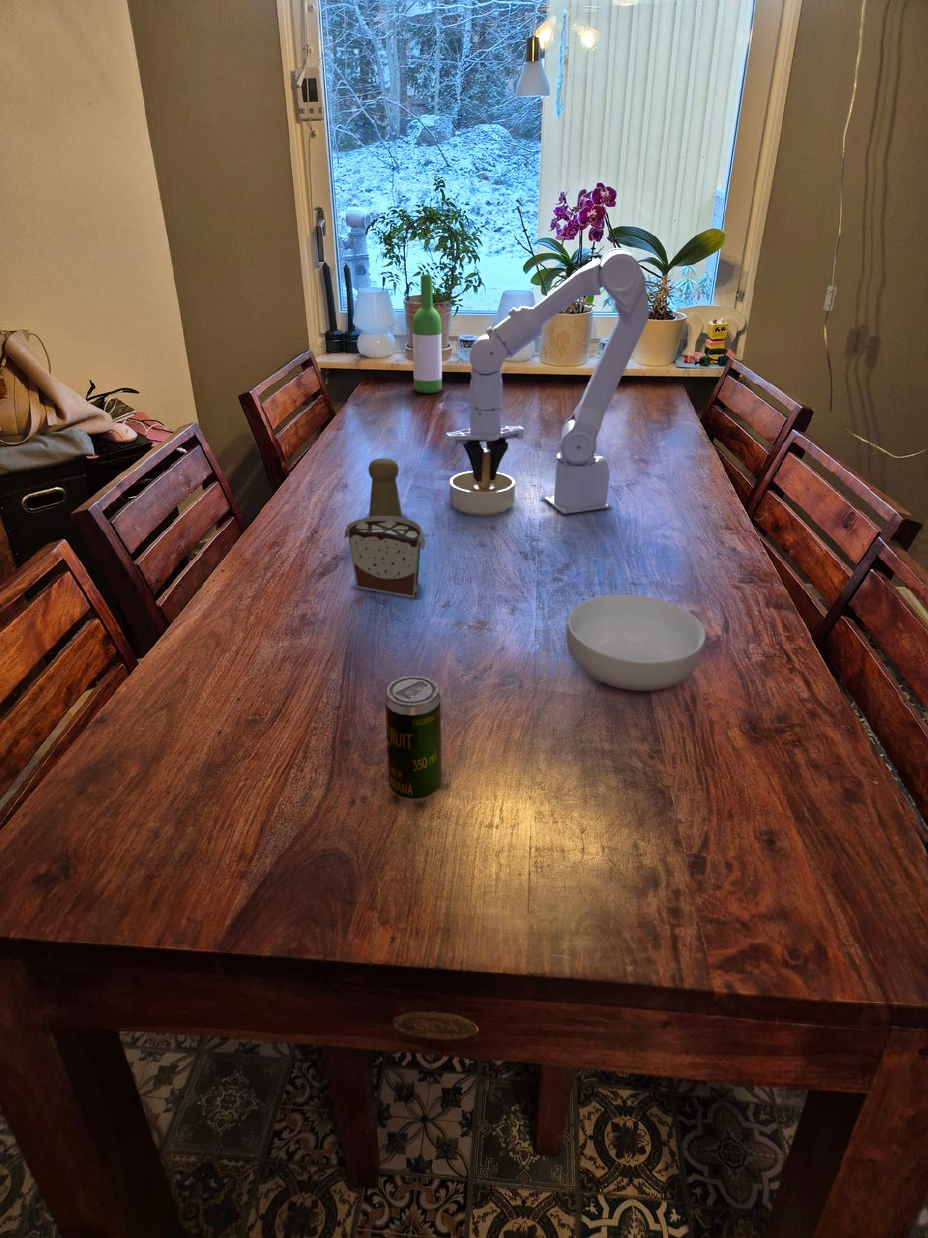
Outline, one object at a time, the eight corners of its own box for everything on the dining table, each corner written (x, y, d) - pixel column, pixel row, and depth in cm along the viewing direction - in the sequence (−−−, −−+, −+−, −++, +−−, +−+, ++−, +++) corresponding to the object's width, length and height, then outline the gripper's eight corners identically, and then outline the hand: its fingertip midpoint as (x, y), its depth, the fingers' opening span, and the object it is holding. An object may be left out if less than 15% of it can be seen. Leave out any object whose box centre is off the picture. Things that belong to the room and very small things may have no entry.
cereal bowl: (670, 729, 93) (679, 677, 89) (540, 684, 100) (543, 635, 97) (715, 661, 105) (724, 614, 102) (596, 627, 113) (601, 581, 110)
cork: (397, 527, 143) (395, 466, 138) (364, 524, 144) (361, 464, 139) (406, 514, 148) (404, 455, 143) (374, 511, 149) (371, 453, 144)
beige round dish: (498, 489, 160) (499, 467, 158) (524, 511, 150) (525, 488, 148) (441, 497, 156) (440, 474, 154) (463, 520, 146) (463, 496, 144)
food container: (438, 581, 125) (437, 520, 120) (423, 599, 120) (422, 536, 115) (365, 569, 128) (361, 509, 123) (347, 586, 123) (343, 524, 118)
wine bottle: (411, 393, 225) (408, 276, 210) (417, 386, 232) (415, 272, 217) (438, 394, 224) (438, 277, 209) (444, 388, 231) (443, 273, 216)
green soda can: (414, 762, 87) (411, 668, 81) (452, 784, 84) (452, 688, 78) (378, 788, 84) (372, 691, 78) (416, 812, 81) (413, 713, 75)
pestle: (489, 491, 156) (490, 445, 152) (497, 498, 153) (499, 452, 149) (470, 493, 155) (470, 447, 151) (478, 501, 152) (479, 454, 147)
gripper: (455, 415, 140) (455, 490, 147) (532, 408, 145) (528, 481, 151) (442, 405, 146) (442, 478, 153) (516, 398, 150) (513, 469, 157)
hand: (484, 479), depth 152 cm, fingers closed on pestle, 2 cm apart
